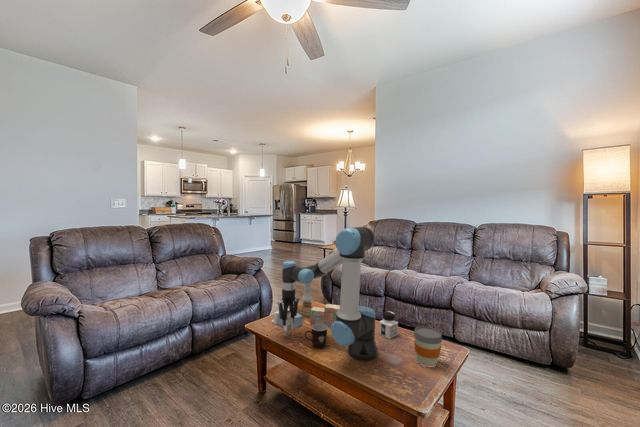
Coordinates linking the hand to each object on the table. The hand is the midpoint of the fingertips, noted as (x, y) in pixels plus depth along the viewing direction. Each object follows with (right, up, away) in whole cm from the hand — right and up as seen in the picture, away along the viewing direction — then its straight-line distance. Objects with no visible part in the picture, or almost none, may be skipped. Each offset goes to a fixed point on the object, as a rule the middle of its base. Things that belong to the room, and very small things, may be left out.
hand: (288, 329), depth 159 cm
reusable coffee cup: (+70, -6, -24) cm, 74 cm away
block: (-1, -3, +15) cm, 15 cm away
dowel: (0, -4, 0) cm, 4 cm away
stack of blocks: (+23, -4, +16) cm, 28 cm away
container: (+58, -5, +4) cm, 58 cm away
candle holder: (+9, -3, +33) cm, 34 cm away
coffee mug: (+16, -5, -10) cm, 19 cm away
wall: (-6, -3, +21) cm, 22 cm away
